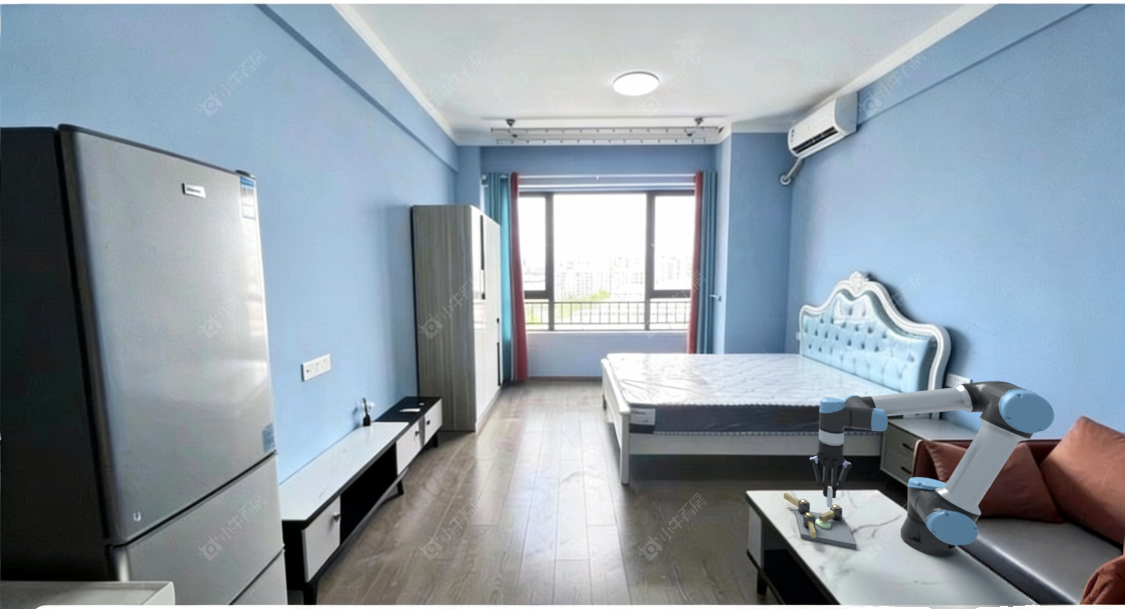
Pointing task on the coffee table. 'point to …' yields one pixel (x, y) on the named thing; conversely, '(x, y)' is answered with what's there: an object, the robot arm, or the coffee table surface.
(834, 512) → the knob
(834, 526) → the base plate
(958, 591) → the coffee table surface
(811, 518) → the knob
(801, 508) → the knob
